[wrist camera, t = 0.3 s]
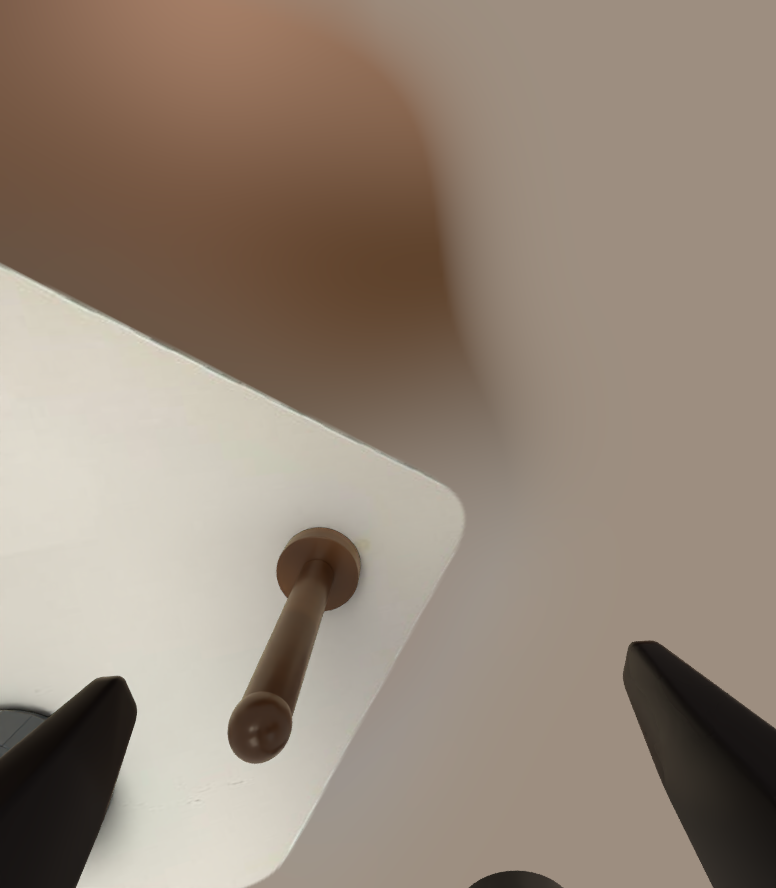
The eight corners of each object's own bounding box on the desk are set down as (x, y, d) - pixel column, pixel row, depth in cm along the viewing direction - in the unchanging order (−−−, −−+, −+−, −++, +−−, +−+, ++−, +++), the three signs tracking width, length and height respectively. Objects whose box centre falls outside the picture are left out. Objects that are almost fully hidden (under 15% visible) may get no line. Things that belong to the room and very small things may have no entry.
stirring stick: (338, 612, 26) (285, 831, 14) (269, 578, 25) (156, 774, 14) (374, 549, 25) (348, 730, 13) (302, 513, 24) (211, 666, 13)
